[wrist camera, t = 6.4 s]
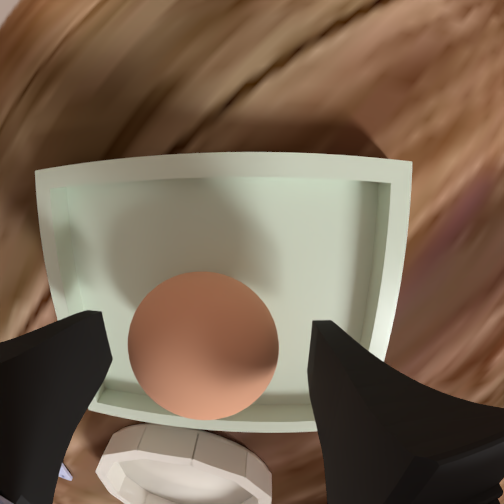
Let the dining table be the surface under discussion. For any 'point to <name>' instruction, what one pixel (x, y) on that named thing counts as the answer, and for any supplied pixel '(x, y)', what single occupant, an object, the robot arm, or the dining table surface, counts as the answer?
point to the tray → (230, 256)
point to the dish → (181, 468)
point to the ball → (203, 345)
